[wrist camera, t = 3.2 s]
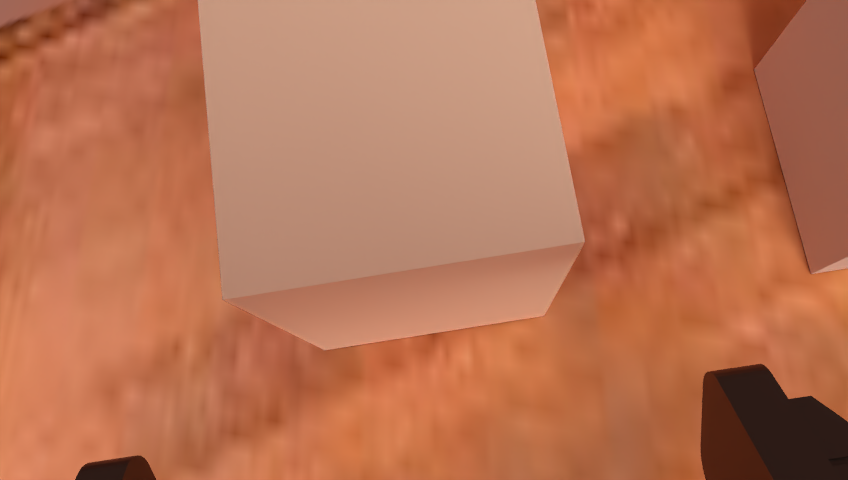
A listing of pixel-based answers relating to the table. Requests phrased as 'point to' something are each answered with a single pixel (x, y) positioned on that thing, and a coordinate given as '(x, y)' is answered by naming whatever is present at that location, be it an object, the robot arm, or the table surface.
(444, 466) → the table surface
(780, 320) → the table surface
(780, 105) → the grey cover
